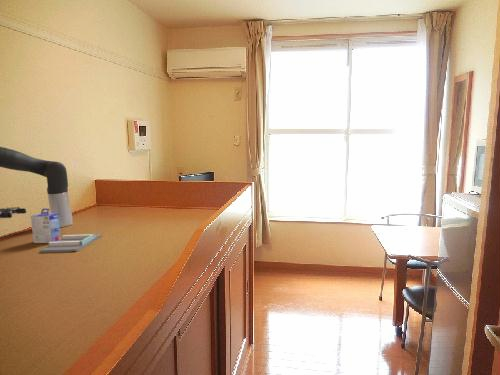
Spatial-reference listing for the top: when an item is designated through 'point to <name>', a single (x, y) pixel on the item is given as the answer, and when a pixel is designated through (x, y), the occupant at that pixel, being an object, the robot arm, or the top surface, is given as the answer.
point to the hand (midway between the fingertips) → (18, 212)
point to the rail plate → (70, 243)
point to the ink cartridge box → (45, 227)
